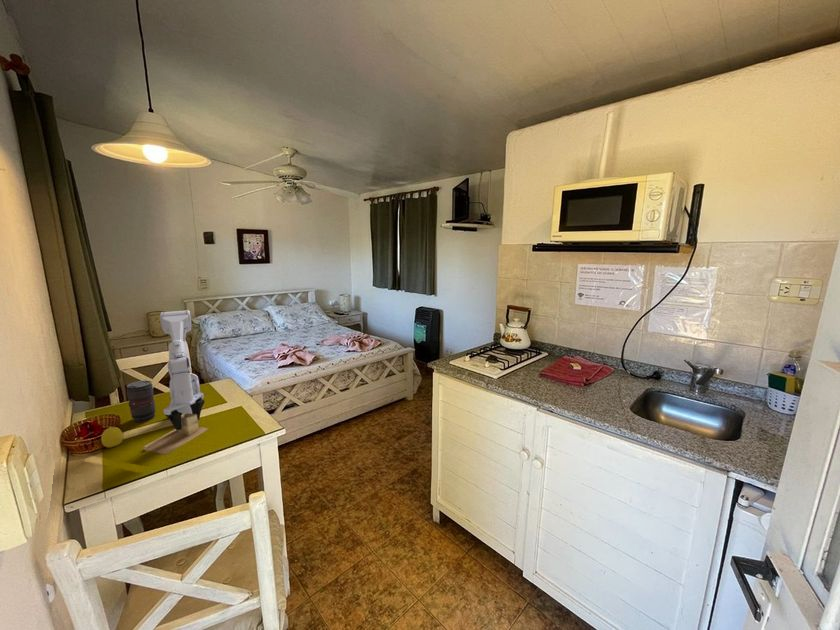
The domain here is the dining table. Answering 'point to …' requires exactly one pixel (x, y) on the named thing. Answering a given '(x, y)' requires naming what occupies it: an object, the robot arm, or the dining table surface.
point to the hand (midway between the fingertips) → (187, 424)
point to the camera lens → (141, 400)
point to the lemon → (112, 437)
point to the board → (171, 441)
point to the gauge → (189, 423)
